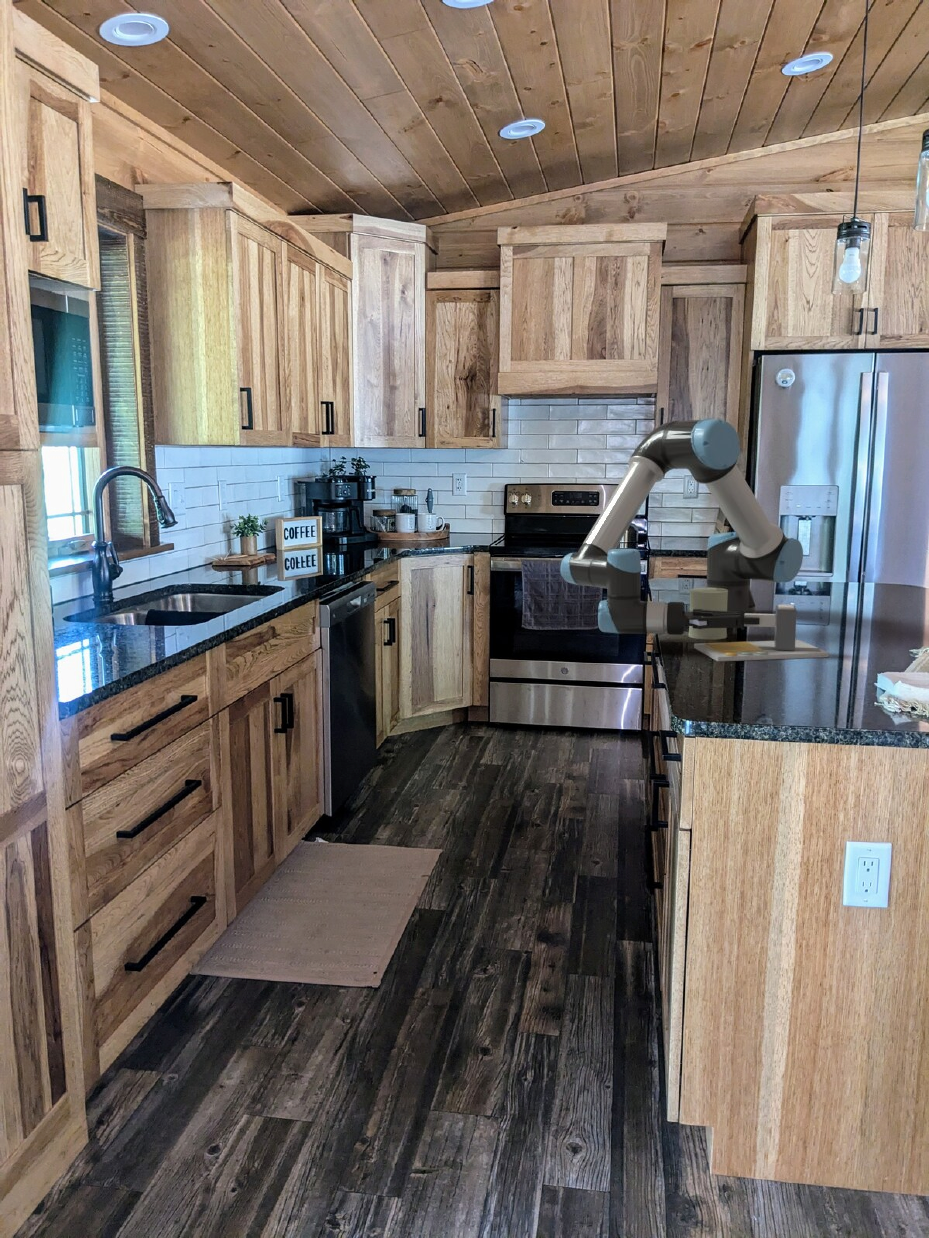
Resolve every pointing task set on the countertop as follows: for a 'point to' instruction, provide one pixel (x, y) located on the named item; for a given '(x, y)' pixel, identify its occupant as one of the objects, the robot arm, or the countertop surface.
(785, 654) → the panel
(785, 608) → the grey upright block
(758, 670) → the countertop surface
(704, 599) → the can
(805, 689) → the countertop surface
